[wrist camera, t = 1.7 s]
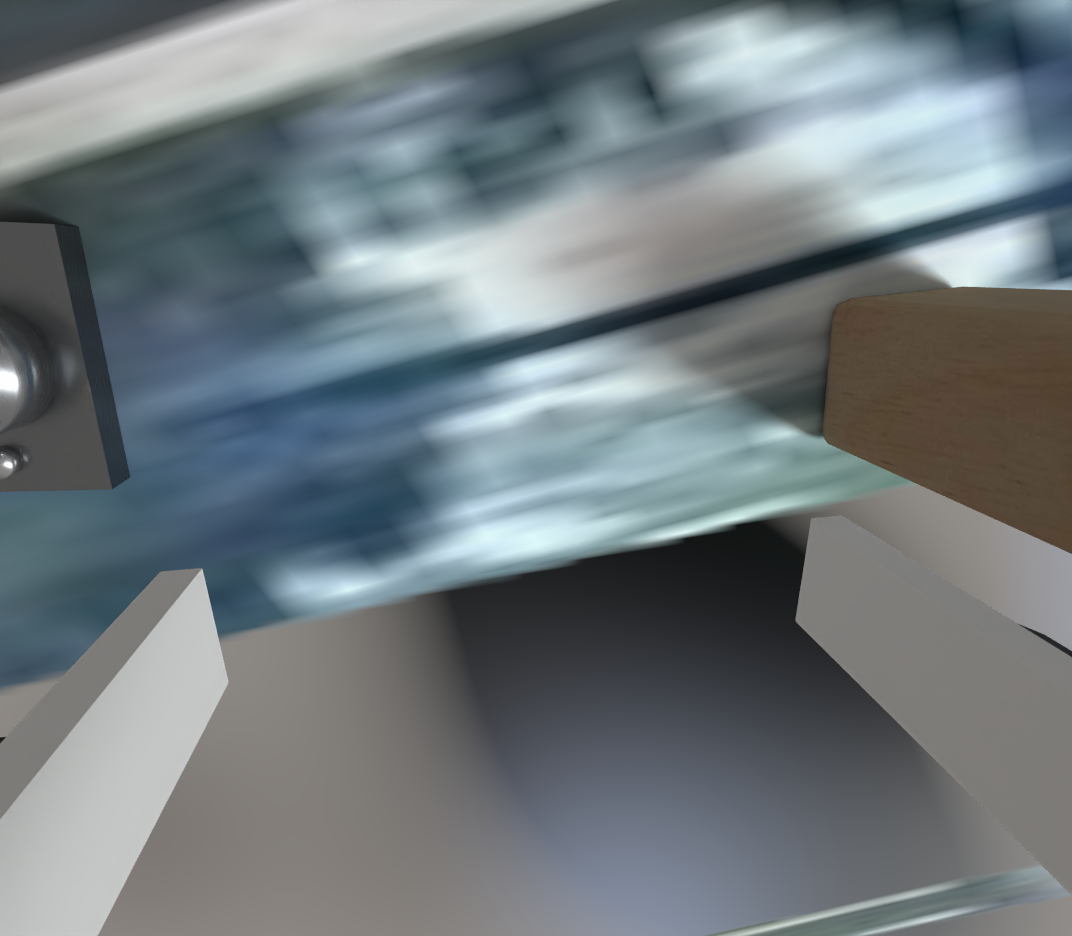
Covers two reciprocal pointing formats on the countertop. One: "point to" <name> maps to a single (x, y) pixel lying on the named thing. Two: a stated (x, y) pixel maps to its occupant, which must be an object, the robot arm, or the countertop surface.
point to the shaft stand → (53, 368)
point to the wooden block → (962, 397)
